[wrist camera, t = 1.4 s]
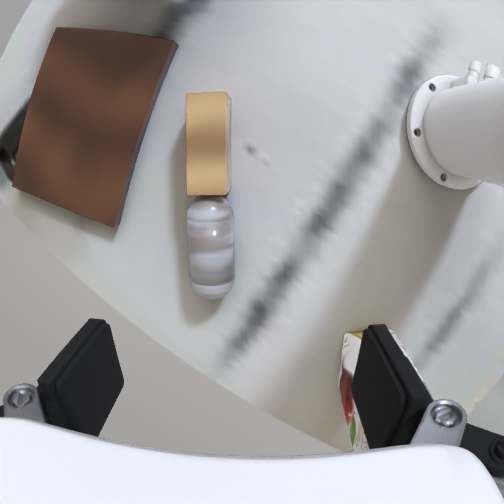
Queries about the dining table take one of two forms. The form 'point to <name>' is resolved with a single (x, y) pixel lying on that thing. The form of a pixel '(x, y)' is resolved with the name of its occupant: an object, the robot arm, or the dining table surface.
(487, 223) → the dining table surface
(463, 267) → the dining table surface
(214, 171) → the wood and marble capsule
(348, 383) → the juice carton
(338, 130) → the dining table surface
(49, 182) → the chopping board
